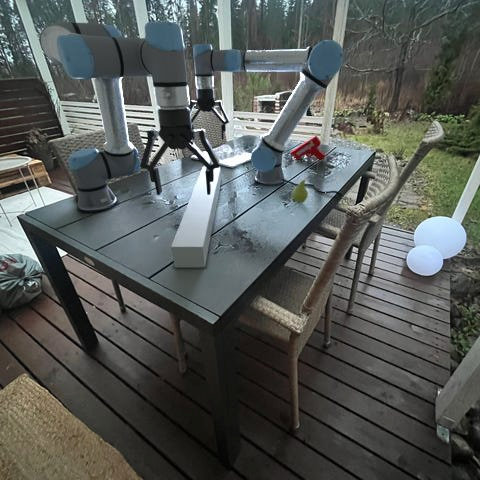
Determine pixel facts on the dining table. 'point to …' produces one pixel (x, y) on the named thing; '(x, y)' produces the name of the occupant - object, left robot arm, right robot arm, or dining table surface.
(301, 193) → the fruit
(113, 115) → the left robot arm
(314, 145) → the toy gun
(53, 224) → the dining table surface
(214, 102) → the right robot arm
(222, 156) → the relief map
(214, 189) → the long white beam
